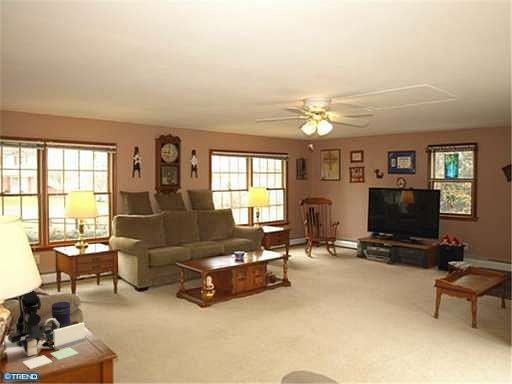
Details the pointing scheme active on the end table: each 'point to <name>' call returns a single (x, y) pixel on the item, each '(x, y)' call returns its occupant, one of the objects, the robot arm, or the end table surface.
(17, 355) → the end table surface
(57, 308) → the storage jar
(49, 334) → the watch
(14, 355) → the end table surface
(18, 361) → the end table surface
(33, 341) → the block
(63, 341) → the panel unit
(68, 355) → the sage mat
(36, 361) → the cream mat
